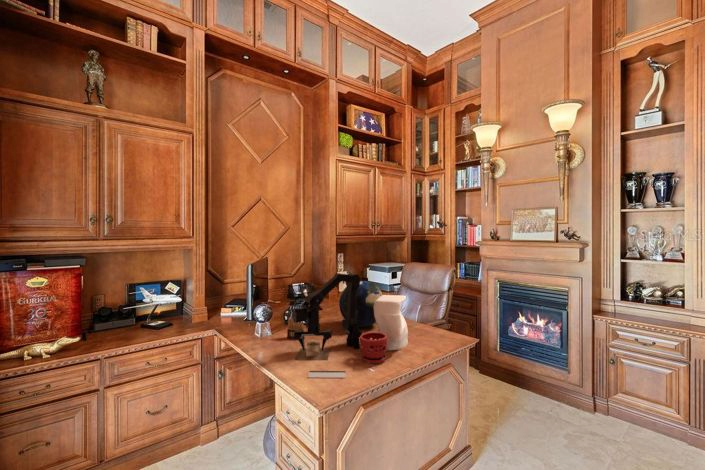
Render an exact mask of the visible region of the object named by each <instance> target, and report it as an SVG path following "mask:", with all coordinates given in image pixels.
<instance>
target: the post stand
mask: <svg viewBox="0 0 705 470" xmlns="http://www.w3.org/2000/svg"><path fill="white" fill-rule="evenodd" d="M310 342H311V345H315V342H316V341H310ZM330 351H331V347H328V348H325V347H324V348H323V351H322V347H320V353H319V356H306V347H305V351H303V348H302V347H300V348H299V350H298V352H297V354H296V355H295V358H294V361H329V357H330Z"/></svg>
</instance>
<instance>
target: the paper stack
mask: <svg viewBox="0 0 705 470" xmlns="http://www.w3.org/2000/svg"><path fill="white" fill-rule="evenodd" d="M406 298H407V296H406V295H401V294H400V295H398V294H395V295H394V294H383V295H382V296H380V297H379V298H378V299H377V300H376V301H375V303H374V317H375V320H376V323H375V324H376V326H377V332H378V333H383V334H385V335H386V336H387V348H386V351H399V350H402V349H404V348H405V347H406V346H408V344H409V341H408V335H409V330H408V329H409V328H408V325H407V321H406V319H405V318H404V317H405V316H404V315H403V313H402V312H401V307H402V305H403V303H404V301H405V299H406ZM379 339H380V338H379Z"/></svg>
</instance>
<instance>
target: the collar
mask: <svg viewBox="0 0 705 470" xmlns="http://www.w3.org/2000/svg"><path fill="white" fill-rule="evenodd" d="M311 342H312V341H308V342H307V344H306V345H305V348H306V356H319V353H320V348H321V342H320V341H314V342H315V345H311Z"/></svg>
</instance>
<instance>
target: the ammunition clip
mask: <svg viewBox="0 0 705 470" xmlns="http://www.w3.org/2000/svg"><path fill="white" fill-rule="evenodd" d="M304 326H305V325H304V321H303V322H297V323H294V322H293V320H292V317H291V318H290V317H288V322H287V333H286V338H288V339H291V338H293V339H292V340H297V339H296V338H294V332H295V331H296V330H297V329H303V332H305V329H304V328H305V327H304ZM304 340H305V337H304Z"/></svg>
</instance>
